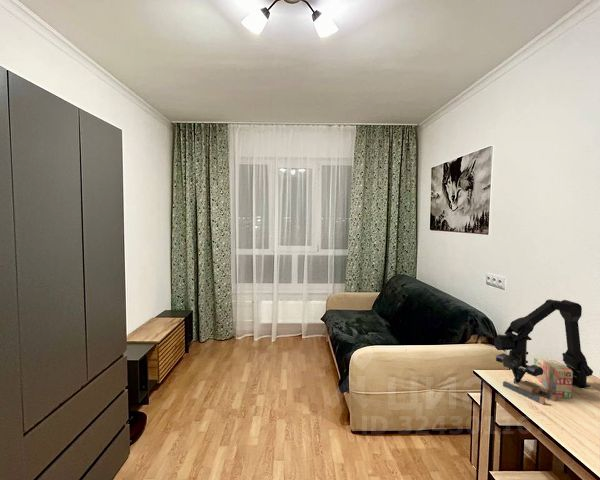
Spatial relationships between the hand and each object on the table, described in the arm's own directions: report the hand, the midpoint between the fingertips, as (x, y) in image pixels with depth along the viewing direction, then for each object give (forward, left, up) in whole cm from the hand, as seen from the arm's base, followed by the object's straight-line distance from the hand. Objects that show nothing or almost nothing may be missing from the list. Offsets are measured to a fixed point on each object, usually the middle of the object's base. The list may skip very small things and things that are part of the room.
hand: (517, 382), depth 162 cm
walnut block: (0, +5, -3) cm, 6 cm away
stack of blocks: (-15, +6, -3) cm, 16 cm away
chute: (0, +5, -2) cm, 6 cm away
